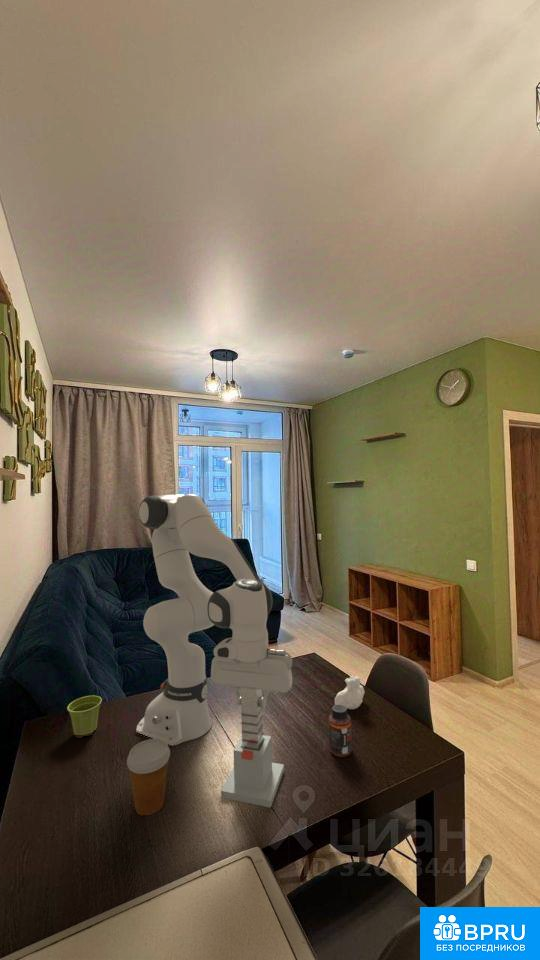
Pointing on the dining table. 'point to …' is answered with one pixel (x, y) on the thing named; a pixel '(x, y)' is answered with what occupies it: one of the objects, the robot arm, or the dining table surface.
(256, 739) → the column
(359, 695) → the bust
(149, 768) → the disposable coffee cup
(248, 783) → the stand base
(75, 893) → the dining table surface
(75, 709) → the plant pot
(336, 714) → the supplement bottle
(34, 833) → the dining table surface
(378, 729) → the dining table surface
